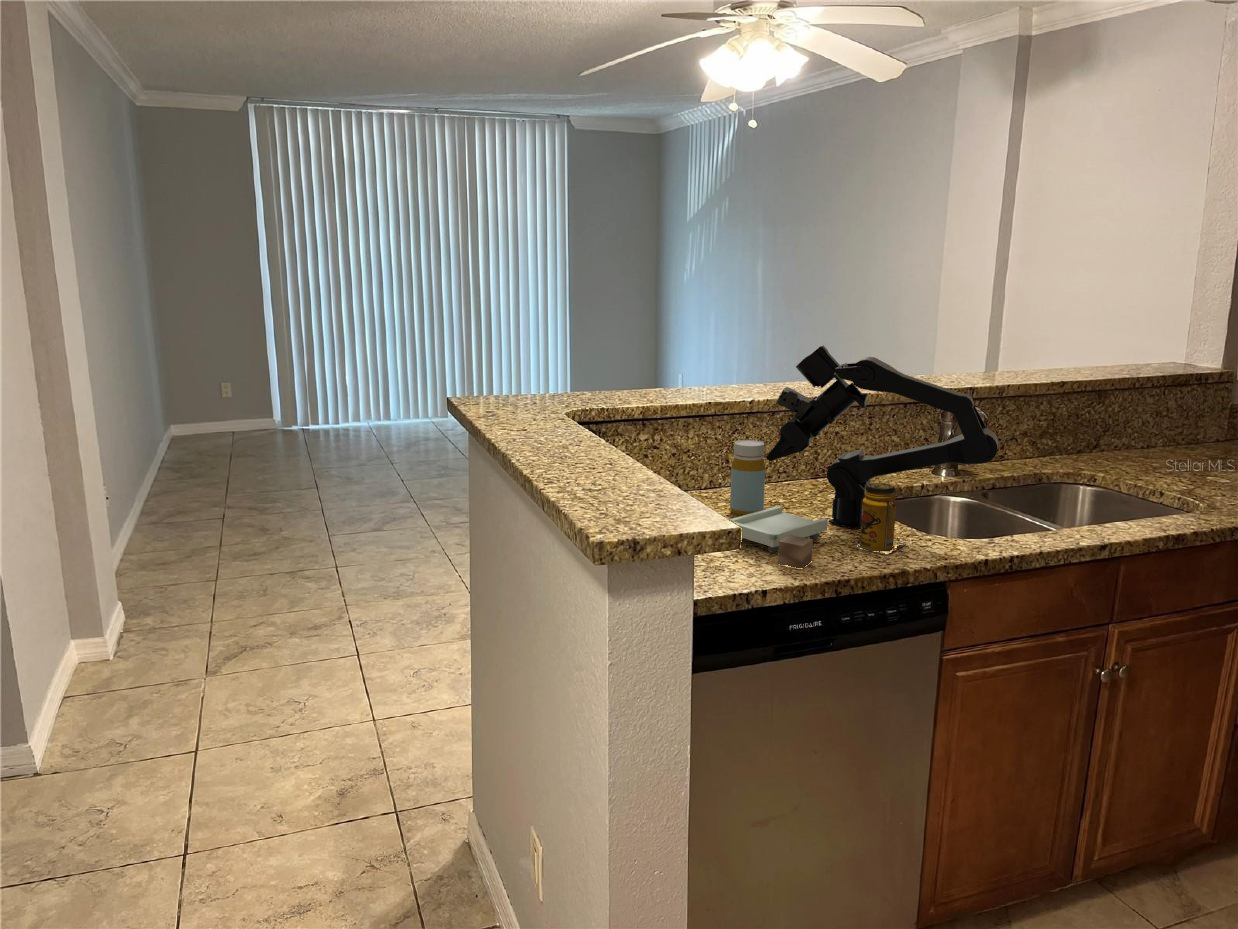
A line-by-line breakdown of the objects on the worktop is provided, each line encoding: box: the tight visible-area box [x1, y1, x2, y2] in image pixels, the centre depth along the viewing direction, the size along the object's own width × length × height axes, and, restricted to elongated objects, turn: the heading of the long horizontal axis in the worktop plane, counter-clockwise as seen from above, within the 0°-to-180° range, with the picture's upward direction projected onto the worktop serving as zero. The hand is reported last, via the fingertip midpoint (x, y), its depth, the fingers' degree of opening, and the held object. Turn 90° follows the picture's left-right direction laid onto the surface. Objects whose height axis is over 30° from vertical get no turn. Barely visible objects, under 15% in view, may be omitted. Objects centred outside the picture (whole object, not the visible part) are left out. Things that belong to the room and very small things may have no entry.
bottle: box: [729, 439, 766, 517], centre depth 193 cm, size 7×7×15 cm
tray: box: [728, 505, 829, 554], centre depth 176 cm, size 12×16×4 cm
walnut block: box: [777, 535, 814, 569], centre depth 163 cm, size 4×4×4 cm
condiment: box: [852, 482, 907, 556], centre depth 172 cm, size 7×8×12 cm
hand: (772, 454), depth 190 cm, fingers open, 9 cm apart
